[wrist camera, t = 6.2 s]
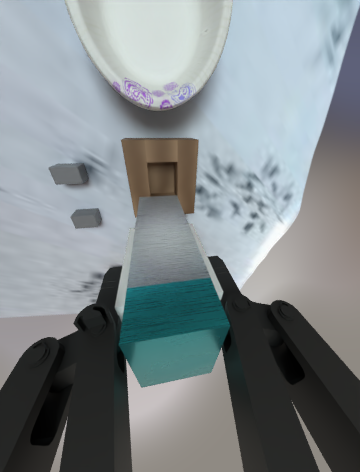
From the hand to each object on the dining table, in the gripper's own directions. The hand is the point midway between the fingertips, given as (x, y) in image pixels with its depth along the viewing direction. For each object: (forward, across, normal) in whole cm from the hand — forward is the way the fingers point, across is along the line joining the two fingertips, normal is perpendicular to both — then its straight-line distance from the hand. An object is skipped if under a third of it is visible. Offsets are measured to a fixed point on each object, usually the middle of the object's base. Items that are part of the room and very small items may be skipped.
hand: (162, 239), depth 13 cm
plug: (+4, 0, 0) cm, 4 cm away
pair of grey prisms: (+20, -14, -3) cm, 25 cm away
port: (+20, +1, 0) cm, 20 cm away
